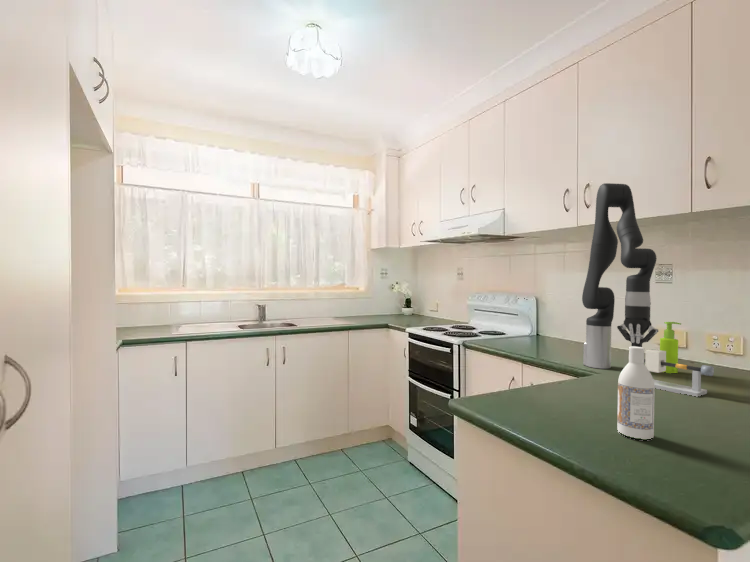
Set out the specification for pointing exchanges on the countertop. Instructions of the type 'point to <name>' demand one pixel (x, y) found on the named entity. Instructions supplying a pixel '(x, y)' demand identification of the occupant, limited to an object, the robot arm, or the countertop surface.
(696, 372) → the rod slider assembly
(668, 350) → the soap dispenser
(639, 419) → the bath foam
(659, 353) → the sleeve
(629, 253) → the robot arm
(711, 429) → the countertop surface
